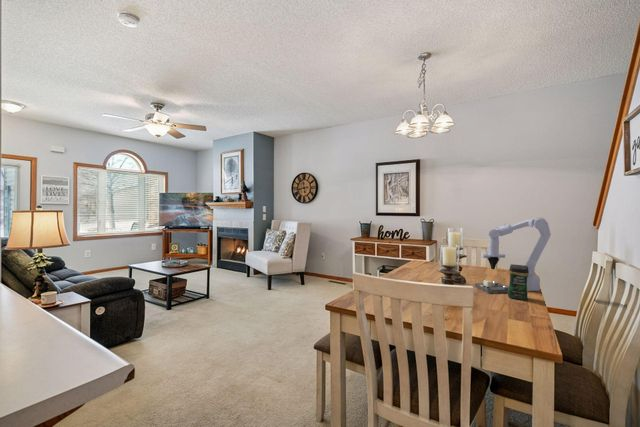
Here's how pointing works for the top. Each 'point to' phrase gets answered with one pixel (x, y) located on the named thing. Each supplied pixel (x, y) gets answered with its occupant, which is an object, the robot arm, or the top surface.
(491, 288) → the console
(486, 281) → the fader cap
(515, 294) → the coffee jar
